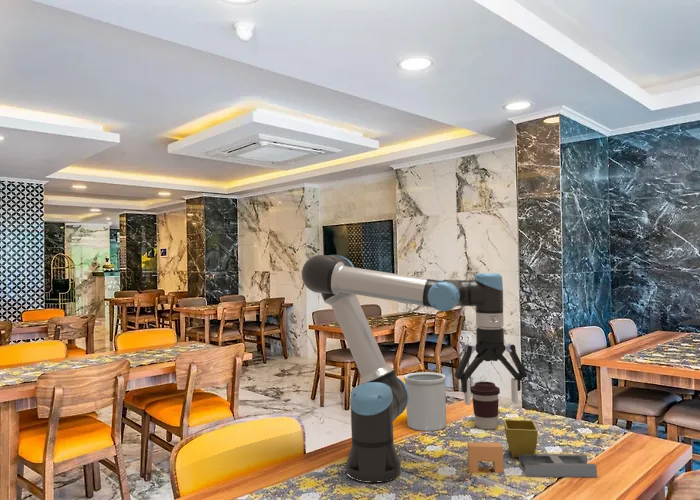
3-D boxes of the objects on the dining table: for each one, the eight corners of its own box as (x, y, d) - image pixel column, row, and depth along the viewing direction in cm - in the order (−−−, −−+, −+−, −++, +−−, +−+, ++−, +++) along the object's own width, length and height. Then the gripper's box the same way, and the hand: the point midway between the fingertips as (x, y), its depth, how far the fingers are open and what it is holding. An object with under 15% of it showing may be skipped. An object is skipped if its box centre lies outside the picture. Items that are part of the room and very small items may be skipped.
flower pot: (539, 461, 141) (538, 429, 142) (507, 460, 143) (506, 428, 144) (534, 450, 150) (533, 420, 150) (504, 449, 152) (503, 419, 152)
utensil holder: (401, 420, 183) (400, 372, 184) (440, 417, 185) (439, 370, 186) (410, 433, 169) (409, 381, 169) (453, 430, 170) (451, 379, 171)
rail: (526, 476, 132) (526, 465, 132) (519, 464, 140) (518, 453, 140) (597, 477, 130) (596, 465, 130) (585, 465, 138) (585, 454, 138)
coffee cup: (504, 430, 168) (503, 386, 169) (475, 431, 168) (474, 387, 169) (496, 421, 178) (494, 379, 179) (469, 422, 178) (467, 380, 179)
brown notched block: (470, 472, 135) (469, 446, 136) (468, 467, 139) (467, 442, 139) (503, 472, 135) (502, 446, 135) (501, 467, 138) (500, 442, 138)
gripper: (450, 330, 135) (451, 408, 135) (538, 328, 137) (540, 405, 136) (443, 326, 143) (444, 400, 142) (526, 325, 144) (528, 398, 144)
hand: (491, 403), depth 139 cm, fingers open, 13 cm apart
